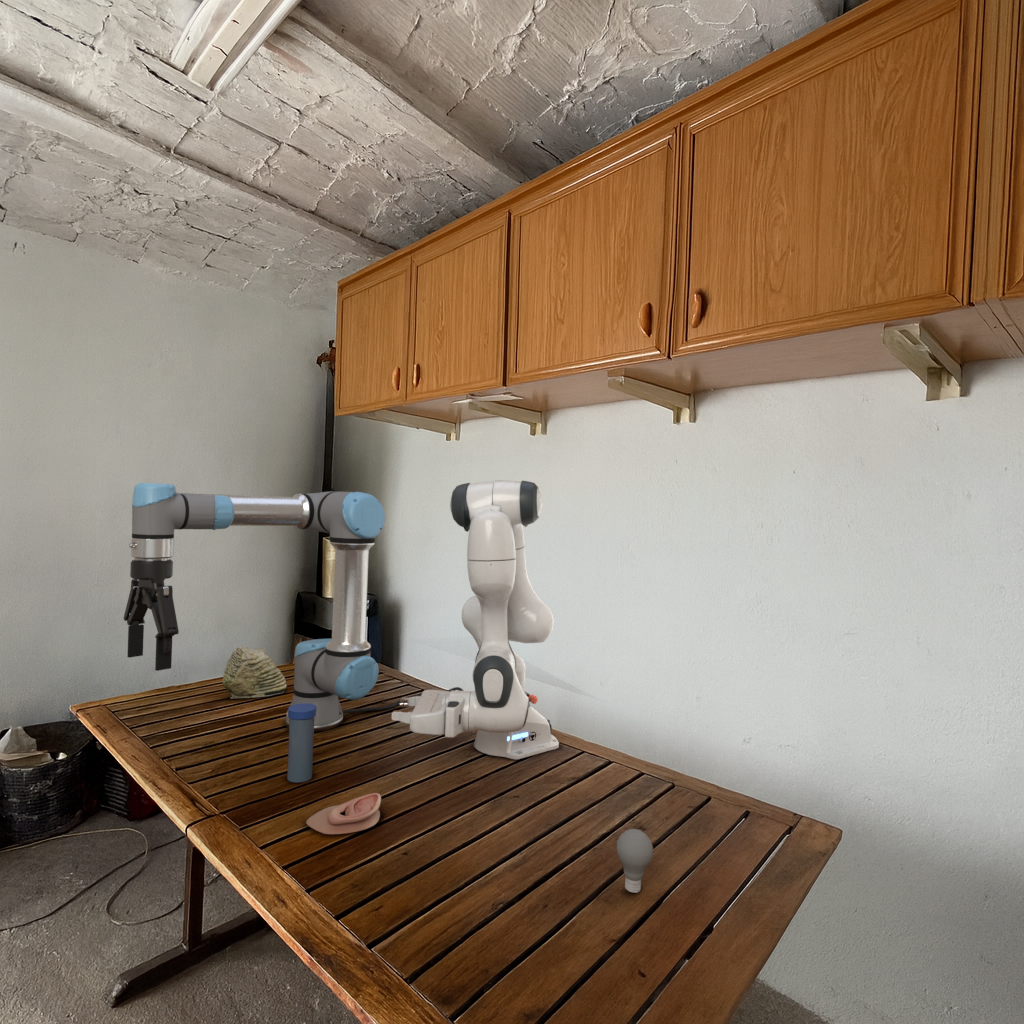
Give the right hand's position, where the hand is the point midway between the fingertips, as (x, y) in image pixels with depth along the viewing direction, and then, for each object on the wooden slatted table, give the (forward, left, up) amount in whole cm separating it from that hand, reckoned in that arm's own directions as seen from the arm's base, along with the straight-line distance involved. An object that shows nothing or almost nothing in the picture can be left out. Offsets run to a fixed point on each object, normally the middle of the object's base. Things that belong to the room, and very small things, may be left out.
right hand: (396, 708), depth 144 cm
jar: (+19, -8, -16) cm, 26 cm away
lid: (+19, -8, 0) cm, 21 cm away
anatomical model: (+14, +15, -16) cm, 26 cm away
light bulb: (-24, +56, -16) cm, 63 cm away
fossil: (+23, -72, -16) cm, 78 cm away
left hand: (+50, -9, +12) cm, 52 cm away
